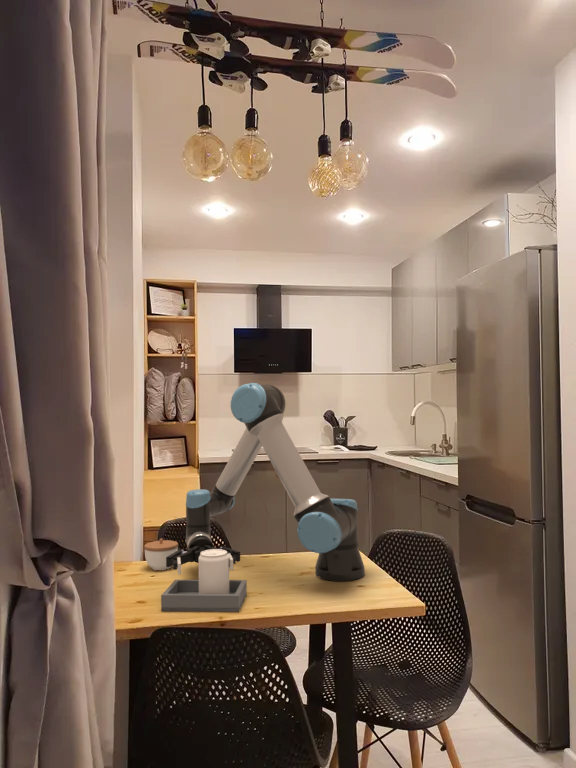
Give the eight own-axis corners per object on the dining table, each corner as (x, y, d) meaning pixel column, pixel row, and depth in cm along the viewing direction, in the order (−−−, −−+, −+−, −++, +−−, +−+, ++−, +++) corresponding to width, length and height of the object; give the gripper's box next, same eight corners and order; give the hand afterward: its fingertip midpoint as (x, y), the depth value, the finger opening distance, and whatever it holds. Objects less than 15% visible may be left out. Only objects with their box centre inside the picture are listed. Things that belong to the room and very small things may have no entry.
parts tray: (246, 594, 151) (246, 579, 151) (238, 611, 138) (238, 595, 138) (175, 594, 153) (175, 579, 153) (161, 611, 140) (161, 595, 140)
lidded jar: (185, 566, 181) (184, 537, 181) (161, 574, 172) (161, 544, 172) (161, 561, 186) (161, 534, 187) (137, 569, 177) (137, 540, 178)
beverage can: (223, 604, 141) (222, 557, 142) (193, 602, 143) (193, 555, 144) (233, 594, 149) (233, 549, 149) (205, 592, 151) (205, 547, 151)
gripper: (242, 557, 167) (253, 577, 146) (157, 563, 161) (157, 585, 140) (241, 532, 167) (252, 548, 146) (157, 537, 161) (156, 555, 141)
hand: (205, 566), depth 143 cm, fingers open, 13 cm apart
